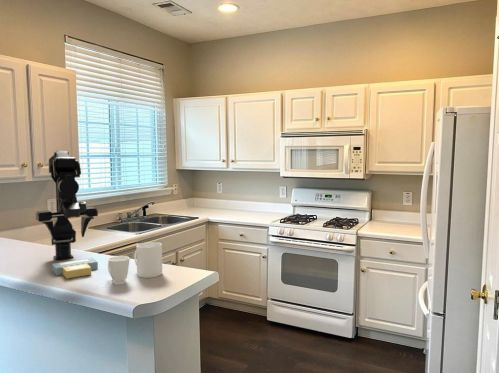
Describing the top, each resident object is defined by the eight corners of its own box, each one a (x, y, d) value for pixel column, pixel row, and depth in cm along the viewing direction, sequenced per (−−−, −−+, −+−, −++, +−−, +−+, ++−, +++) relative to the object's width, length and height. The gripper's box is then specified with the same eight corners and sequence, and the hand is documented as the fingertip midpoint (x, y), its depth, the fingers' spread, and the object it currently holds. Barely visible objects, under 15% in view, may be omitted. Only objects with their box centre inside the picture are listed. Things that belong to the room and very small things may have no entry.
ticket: (52, 270, 142) (52, 263, 141) (92, 264, 150) (92, 257, 150) (56, 275, 136) (56, 268, 135) (97, 268, 144) (97, 261, 144)
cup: (115, 287, 123) (114, 262, 123) (99, 280, 130) (98, 257, 129) (134, 281, 128) (134, 257, 128) (118, 275, 135) (117, 253, 134)
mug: (144, 268, 144) (143, 239, 143) (167, 273, 137) (166, 243, 137) (125, 274, 137) (124, 244, 136) (148, 280, 130) (148, 248, 129)
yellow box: (63, 274, 136) (62, 267, 136) (87, 270, 141) (86, 263, 141) (66, 278, 131) (66, 271, 131) (91, 274, 136) (91, 267, 136)
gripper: (40, 197, 121) (42, 246, 122) (102, 193, 132) (103, 238, 133) (34, 194, 129) (36, 240, 131) (92, 191, 141) (93, 233, 142)
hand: (68, 238), depth 134 cm, fingers open, 9 cm apart
